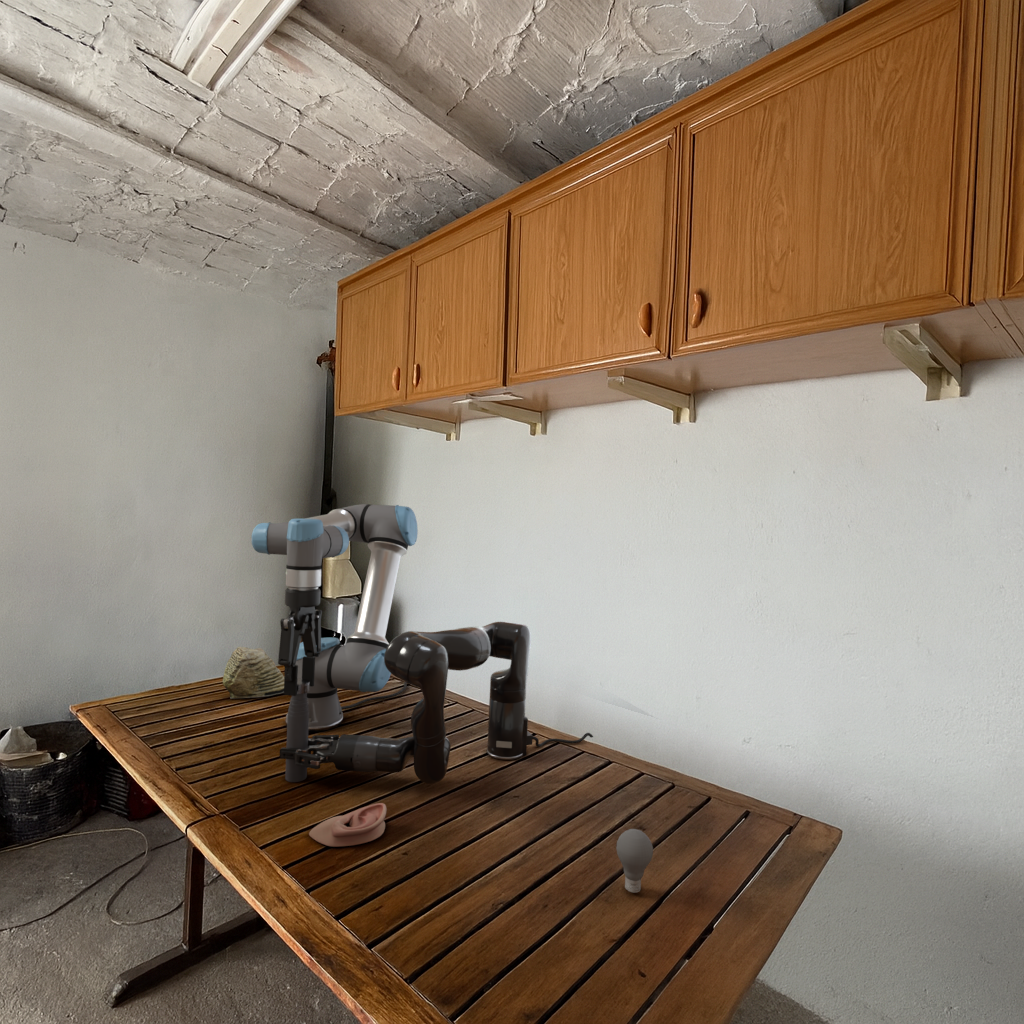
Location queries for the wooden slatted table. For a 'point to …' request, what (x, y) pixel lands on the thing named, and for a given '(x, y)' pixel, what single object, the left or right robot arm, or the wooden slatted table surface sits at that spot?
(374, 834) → the anatomical model
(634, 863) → the light bulb
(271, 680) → the fossil
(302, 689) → the cap
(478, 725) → the wooden slatted table surface
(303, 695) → the bottle
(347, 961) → the wooden slatted table surface
